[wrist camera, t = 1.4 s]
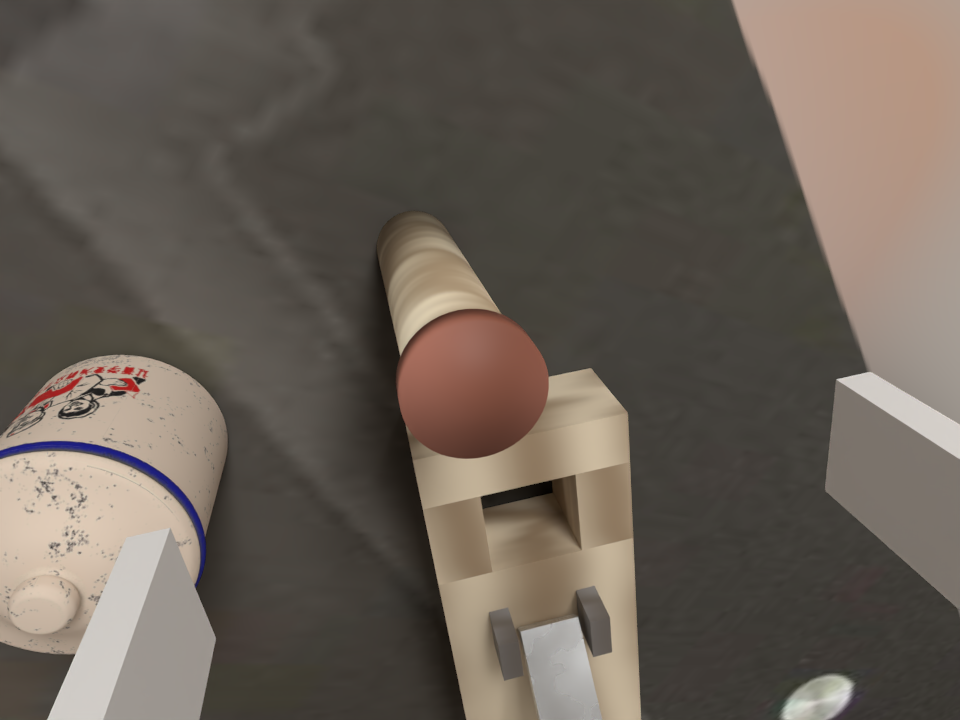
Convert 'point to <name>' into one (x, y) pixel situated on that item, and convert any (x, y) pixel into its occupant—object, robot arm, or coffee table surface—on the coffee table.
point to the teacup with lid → (100, 488)
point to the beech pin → (455, 346)
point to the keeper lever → (559, 670)
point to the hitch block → (538, 551)
